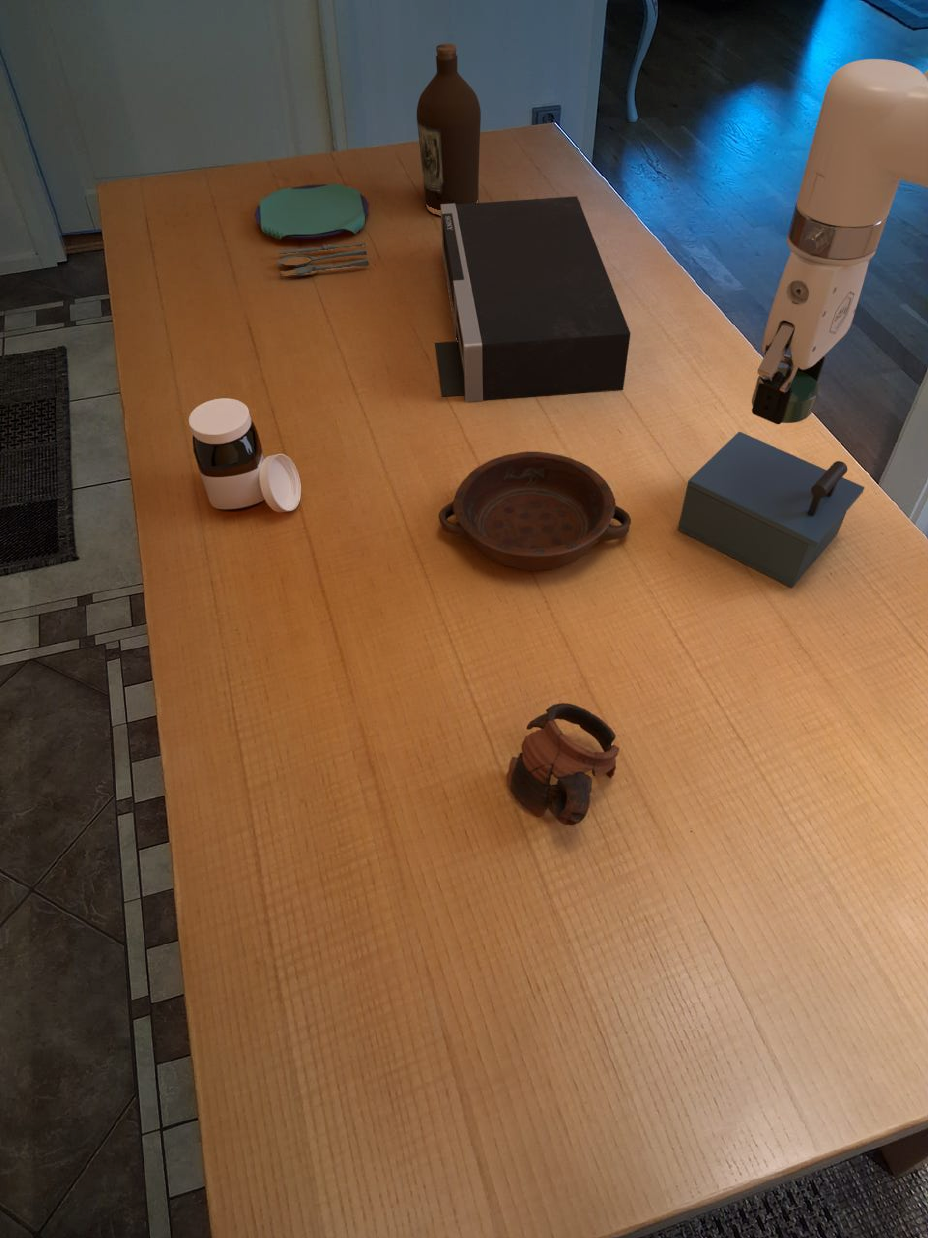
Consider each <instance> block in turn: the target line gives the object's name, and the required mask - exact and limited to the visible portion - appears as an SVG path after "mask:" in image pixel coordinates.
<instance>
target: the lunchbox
mask: <svg viewBox="0 0 928 1238" xmlns="http://www.w3.org/2000/svg"><path fill="white" fill-rule="evenodd" d="M846 514H847V512H846V513H845V514H844V515H843V516H842V517H841V519H840V520H839V521H838V522H837V523H836V524H835V526H834V527H833V528H832V529H831V530H830V532H829V533H828V534H827V535H826V536H825V537H824V539H823V540H822V541H821V542H820V543H819V545H818V546H817V547H816V548H815V547H813V546H811V545H809V544H807V543H805V542H803V541H801V540H799V539H797V538H795V537H793V536H791V535H788V534H786V533H784V532H782V531H780V530H778V529H776V528H774V527H772V526H770V525H768V524H766V523H764V522H762V521H760V520H758V519H756V518H754V517H752V516H750V515H748V514H745V513H743V512H741V511H739V510H737V509H735V508H733V507H731V506H729V505H727V504H725V503H723V502H721V501H719V500H717V499H715V498H713V497H711V496H709V495H707V494H704V493H702V492H700V491H698V490H696V489H694V488H692V487H690V486H688V485H686V489H685V495H684V498H683V504H682V508H681V513H680V517H679V521H678V526H677V530H678V531H679V532H681V533H683V534H685V535H686V536H689V537H691V538H693V539H694V540H697V541H699V542H700V543H702V544H705V545H706V546H709V547H710V548H712V549H714V550H716V551H718V552H720V553H722V554H724V555H726V556H727V557H729V558H731V559H734V560H736V561H738V562H740V563H742V564H743V565H745V566H748V567H749V568H752V569H754V570H755V571H758V572H759V573H761V574H763V575H765V576H767V577H768V578H772V580H775V581H777V582H779V583H781V584H783V585H785V586H787V587H788V588H790V589H793V588H794V587H795V585H796V584H797V583H798V582H799V581H800V579H801V578H802V577H803V576H804V574H806V573H807V571H808V570H809V569H810V568H811V567H812V565H813V564H814V563H815V562H816V560H818V558H819V557H820V556H821V554H822V553H823V552H824V551H825V550H826V548H828V546H829V545H830V544H831V542H833V540H834V539H835V538H836V537H837V535H838V534H839V531H840V529H841V527H842V524H843V522H844V520H845V517H846Z"/></svg>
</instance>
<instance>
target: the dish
mask: <svg viewBox="0 0 928 1238" xmlns="http://www.w3.org/2000/svg"><path fill="white" fill-rule="evenodd" d="M616 504H617V503H616V498H615V496H614V493H613V491H612V489H611V486H609V483H608V482H607V480H605V478H604V477H603V476H601V475H600V474H599V473H598V472H597V471H595V470H594V469H593V468H592V467H590V466H589V465H587V464H585V463H583V462H581V461H578V460H576V459H574V458H572V457H568V456H565V455H561V454H556V453H551V452H545V451H521V452H516V453H509V454H505V455H501V456H499V457H496V458H493V459H490V460H488V461H486V462H485V463H483V464H481V465H479V466H477V467H476V468H474V469H473V470H472V471H471V472H469V474H468V475H467V476H466V477H465V478H464V479H463V480H462V482H461V483H460V485H459V486H458V488H457V490H456V492H455V494H454V497H453V501H451V502H449V503H447V504H446V505H445V506H443V507H442V508H441V509H440V511H439V513H438V521H439V524H440V526H441V528H442V530H444V531H445V532H446V533H448V534H450V535H452V536H457V537H461V538H462V537H464V538H467V539H469V540H471V541H472V542H473V543H474V545H475V546H476V547H477V548H478V550H479V551H480V552H481V553H482V554H484V556H485V557H488V558H489V559H491V560H492V561H495V562H497V563H498V564H501V565H504V566H507V567H510V568H515V569H521V570H529V571H530V570H531V571H532V570H533V571H534V570H536V571H538V570H539V571H540V570H541V571H543V570H551V569H555V568H559V567H563V566H565V565H568V564H572V563H574V562H575V561H577V560H579V559H580V558H582V557H583V556H584V555H585V554H587V553H588V552H589V551H590V549H592V547H593V546H594V545H596V544H597V543H599V542H608V541H614V540H618V539H622V538H624V537H626V536H627V535H628V533H629V532H630V526H631V524H632V519H631V516H630V514H629V512H627V511H626V510H625V509H624V508H622V507H620V506H618V505H616ZM452 516H454V517H455V519H456V520H457V522H451V521H449V520H448V519H449V518H450V517H452ZM612 520H615V521H617V522H618V523H620V525H611V522H612Z"/></svg>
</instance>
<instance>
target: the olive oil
mask: <svg viewBox="0 0 928 1238" xmlns="http://www.w3.org/2000/svg"><path fill="white" fill-rule="evenodd" d="M435 48H436V49H435V51H436V55H435V63H436V65H435V66H436V73H435V75H434V77H433V78H432V79H431V80H430V82H428V84H427V86H426V87H425V88H424V89H423V91H422V93H420V96H419V99H418V102H417V106H416V124H417V125H416V126H417V134H418V142H419V151H420V153H419V154H420V160H421V161H420V162H421V171H422V183H423V192H424V203H425V202H426V204H427V205H428V206H429V207H432V208H434V209H437V210H441V204H455V205H457V204H471V203H476V202H477V200H478V201H479V187H480V186H479V182H480V181H479V179H480V178H479V177H480V149H481V148H480V146H481V145H480V144H481V125H482V124H481V123H482V122H481V121H482V110H481V106H480V101H479V99H478V96H477V94H476V91H475V90H474V89H473V88H472V87H471V86H470V85H469V84H468V82H467V81H466V80H465V79H464V78H463V77H462V76H461V74H459V71H458V54H457V46H456V44H454V43H449V42H448V43H446V42H445V43H440V44H438V45H437V46H436V47H435ZM426 204H425V205H426Z"/></svg>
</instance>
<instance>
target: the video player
mask: <svg viewBox="0 0 928 1238" xmlns="http://www.w3.org/2000/svg"><path fill="white" fill-rule="evenodd" d="M440 223H441V224H440V225H441V245H442V249H441V250H442V258H443V257H444V260H443V259H442V261H443V266H444V264H445V266H444V273H445V280H446V285H447V283H448V285H447V291H448V290H449V291H448V297H449V296H450V297H449V298H448V299H449V305H450V311H451V318H452V322H454V323H453V329H454V328H455V329H454V334H456V335H454V337H455V341H454V340H453V341H441V342H438V341H437V342H434V347H435V358H436V365H437V372H438V380H439V381H438V382H439V387H440V396H441V398H446V397H447V398H448V397H457V396H458V397H461V396H464V400H465V403H478V402H483V401H493V400H494V401H495V400H496V401H497V400H508V399H509V400H510V399H521V398H522V399H523V398H534V397H544V396H545V397H547V396H558V395H559V396H560V395H572V394H573V395H574V394H584V393H596V392H597V393H599V392H610V391H611V392H612V391H623V390H624V385H625V379H626V373H627V372H626V371H627V363H628V362H627V361H628V356H629V348H630V347H629V346H630V340H631V331H630V329H629V325H628V323H627V320H626V319H625V315H624V313H623V310H622V307H621V305H620V302H619V300H618V298H617V295H616V292H615V290H614V287H613V285H612V283H611V282H612V281H611V280H610V276H609V274H608V272H607V270H606V267H605V264H604V262H603V258H602V257H601V254H600V252H599V249H598V246H597V244H596V241H595V239H594V236H593V234H592V231H591V229H590V226H589V223H588V221H587V218H586V216H585V213H584V211H583V208H582V205H581V202H580V200H579V198H578V196H577V195H575V196H574V195H573V196H562V197H561V196H560V197H549V198H548V197H546V198H545V197H544V198H532V199H517V200H516V199H515V200H504V201H503V200H502V201H489V202H478V203H471V204H457V205H455V204H441V216H440ZM445 270H446V272H445ZM446 277H447V279H446ZM450 302H451V304H450ZM451 308H452V310H451ZM452 315H453V316H452ZM456 338H457V340H456ZM457 341H458V342H457Z"/></svg>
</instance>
